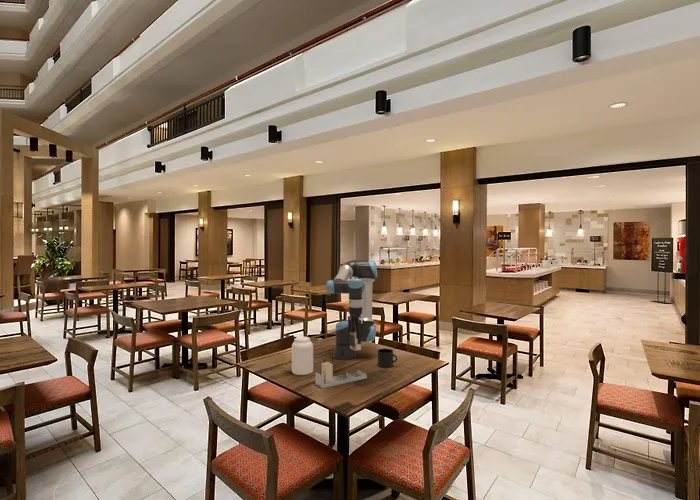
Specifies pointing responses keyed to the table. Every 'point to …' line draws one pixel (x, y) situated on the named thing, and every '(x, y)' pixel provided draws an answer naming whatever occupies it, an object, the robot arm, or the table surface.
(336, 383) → the rail
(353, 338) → the beige upright block
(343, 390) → the table surface
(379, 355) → the mug
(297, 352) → the white jar
